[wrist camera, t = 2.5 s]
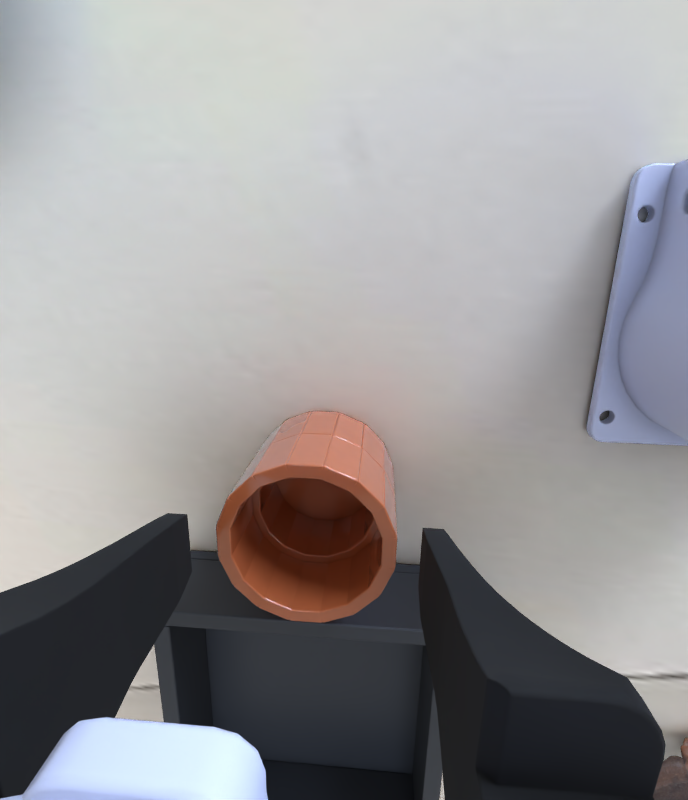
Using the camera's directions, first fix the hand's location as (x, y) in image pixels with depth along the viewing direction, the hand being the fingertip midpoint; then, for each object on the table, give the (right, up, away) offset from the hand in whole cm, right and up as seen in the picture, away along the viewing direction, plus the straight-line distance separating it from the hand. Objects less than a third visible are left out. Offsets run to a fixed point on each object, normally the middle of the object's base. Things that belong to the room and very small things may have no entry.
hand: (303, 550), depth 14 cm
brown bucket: (0, +2, +5) cm, 6 cm away
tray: (0, -8, +8) cm, 12 cm away
